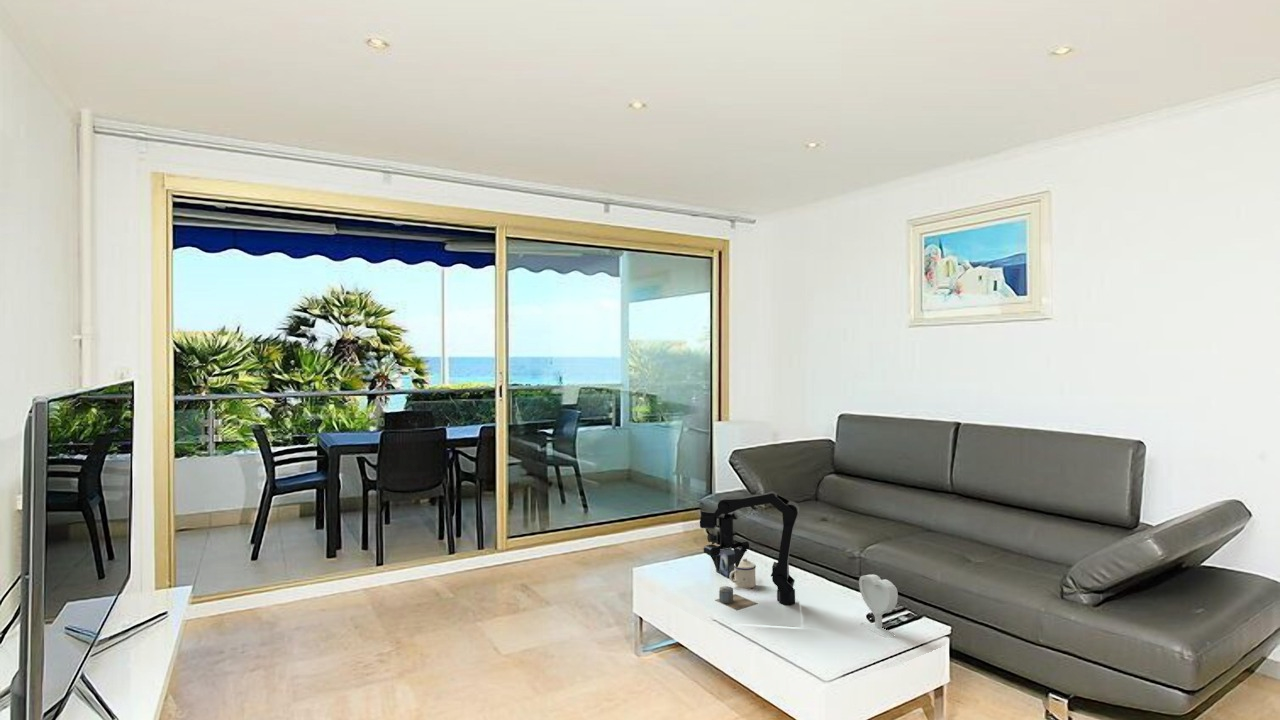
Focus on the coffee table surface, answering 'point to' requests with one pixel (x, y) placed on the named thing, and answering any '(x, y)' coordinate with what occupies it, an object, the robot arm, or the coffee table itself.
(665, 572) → the coffee table surface
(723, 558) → the small box
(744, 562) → the teacup with lid
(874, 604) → the heart sculpture
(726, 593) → the knob
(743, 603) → the base plate
